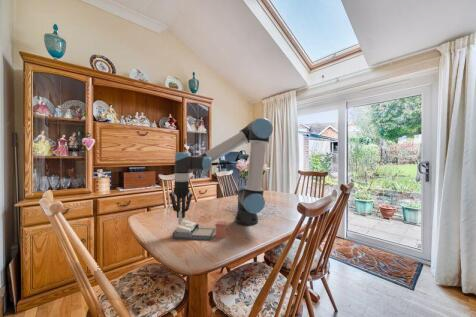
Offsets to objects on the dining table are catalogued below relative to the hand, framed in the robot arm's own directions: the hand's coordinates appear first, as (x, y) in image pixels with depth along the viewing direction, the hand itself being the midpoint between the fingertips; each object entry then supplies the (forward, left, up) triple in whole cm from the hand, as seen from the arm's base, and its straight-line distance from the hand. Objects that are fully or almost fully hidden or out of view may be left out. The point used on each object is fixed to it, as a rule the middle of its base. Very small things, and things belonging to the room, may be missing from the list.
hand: (180, 223), depth 110 cm
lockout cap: (-22, 0, -6) cm, 23 cm away
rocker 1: (-3, +4, -3) cm, 6 cm away
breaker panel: (-8, 0, -6) cm, 10 cm away
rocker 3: (-3, 0, -3) cm, 4 cm away
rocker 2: (-3, -4, -3) cm, 6 cm away
